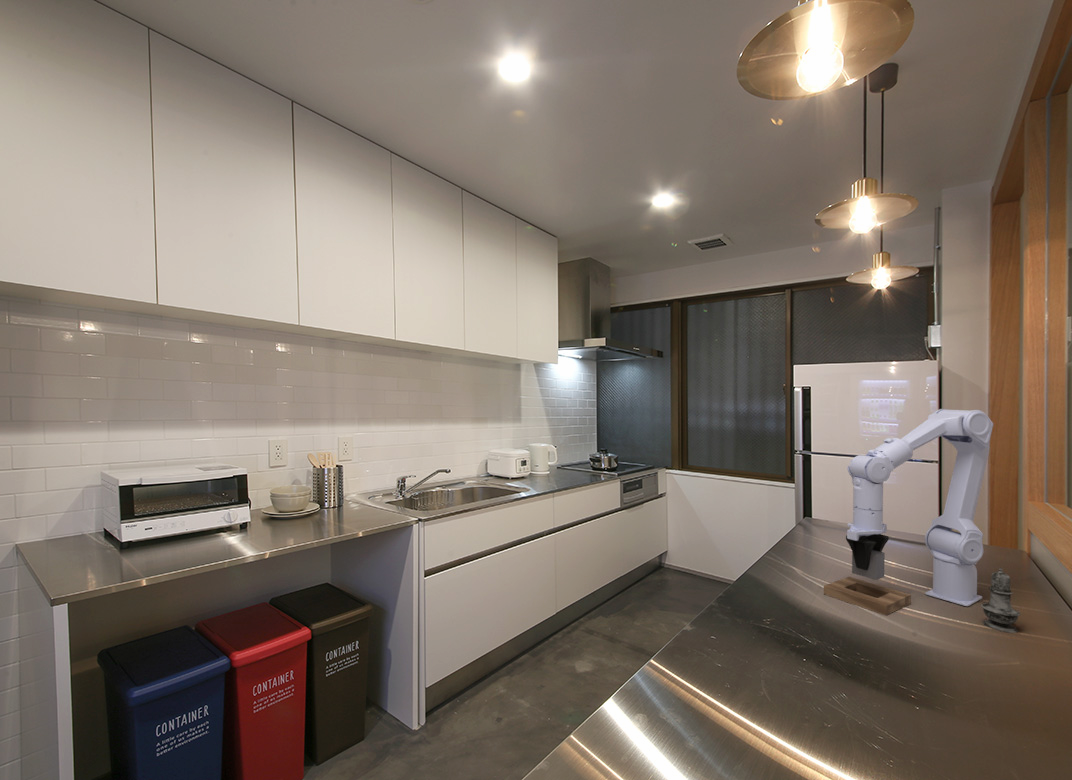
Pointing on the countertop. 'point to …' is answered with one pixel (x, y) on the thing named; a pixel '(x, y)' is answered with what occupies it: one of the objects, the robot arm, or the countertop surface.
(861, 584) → the socket frame
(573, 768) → the countertop surface
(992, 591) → the weathered stone finial
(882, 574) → the plug
